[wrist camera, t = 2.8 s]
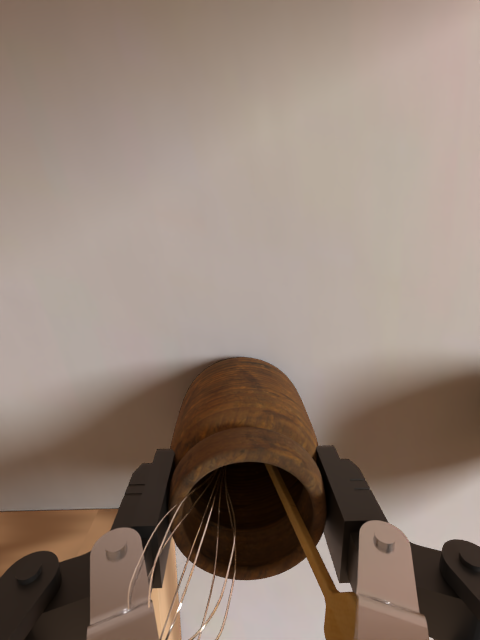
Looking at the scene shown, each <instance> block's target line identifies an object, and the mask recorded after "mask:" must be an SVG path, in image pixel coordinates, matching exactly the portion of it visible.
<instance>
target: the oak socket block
mask: <svg viewBox="0 0 480 640" xmlns="http://www.w3.org/2000/svg"><path fill="white" fill-rule="evenodd" d="M117 512H118V509H92V510H54V511H15V512H0V577H1V576H2V575H3V574H4V573H5V572H6V571H7V569H8V568H9V567H10V566H11V565H13V564H14V563H15V562H16V561H18V560H19V559H21V558H22V557H24V556H26V555H28V554H31V553H34V552H37V551H50V552H53V553H54V554H55V555H56V556H57V557H58V560H59V562H62V561H65V560H68V559H71V558H74V557H77V556H80V555H83V554H86V553H88V552H90V551H91V550H92V548H93V546H94V544H95V543H96V541H97V540H98V539H99V538H100V537H101V536H103V535H104V534H105V533H107V532H109V531H110V529H111V527H112V524H113V522H114V519H115V517H116V514H117ZM177 587H178V585H177V571H176V557H175V543H174V539H173V537H172V538H171V543H170V549H169V554H168V559H167V564H166V570H165V575H164V580H163V585H162V588H152V592H151V600H152V601H153V606H154V612H155V618H156V624H157V630H158V636H159V639H160V636H161V633H162V630H163V628H164V625H165V622H166V619H167V616H168V613H169V610H170V607H171V604H172V601H173V598H174V596H175V593H176V590H177ZM178 606H179V598H178V592H177V595H176V598H175V601H174V604H173V607H172V610H171V613H170V616H169V619H168V622H167V625H166V628H165V631H164V634H163V637H162V640H165V639H166V636H167V634H168V631H169V629H170V626H171V624H172V621H173V619H174V616H175V614H176V611H177V608H178ZM168 640H181V626H180V612H178V615H177V617H176V620H175V623H174V625H173V628H172V630H171V633H170V635H169V638H168Z"/></svg>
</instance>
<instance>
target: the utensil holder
mask: <svg viewBox="0 0 480 640" xmlns="http://www.w3.org/2000/svg"><path fill="white" fill-rule="evenodd" d="M317 446H318V442H317V439H316V436H315V433H314V430H313V427H312V424H311V422H310V419H309V417H308V414H307V412H306V410H305V407H304V405H303V402H302V400H301V398H300V396H299V394H298V392H297V390H296V388H295V387H294V385H293V384H292V382H291V381H290V380H289V378H288V377H287V376H286V375H285V374H284V373H283V372H282V371H280V370H279V369H278V368H276V367H275V366H273V365H271V364H269V363H267V362H265V361H262V360H259V359H254V358H247V357H237V358H230V359H226V360H223V361H220V362H217V363H215V364H213V365H211V366H210V367H208V368H207V369H205V370H204V371H203V372H202V373H201V374H200V375H199V376H198V377H197V378H196V379H195V380H194V381H193V383H192V384H191V386H190V387H189V389H188V391H187V393H186V395H185V398H184V400H183V403H182V406H181V409H180V412H179V416H178V419H177V423H176V426H175V430H174V434H173V438H172V443H171V448H170V449H173V451H174V453H175V471H174V473H173V476H172V479H171V482H170V487H169V497H168V513H167V514H166V515H165V516H164V517H163V518H162V520H161V521H160V522H159V524H158V525H157V526H156V528H155V530H154V531H153V533H152V535H151V536H150V538H149V540H148V542H147V544H146V546H145V548H144V551H143V553H142V555H141V557H140V559H139V562H138V564H137V566H136V568H135V570H134V573H133V575H132V578H131V581H130V584H129V588H128V594H127V610H128V609H130V607H129V596H130V588H131V584H132V581H133V578H134V576H135V573H136V571H137V568H138V566H139V564H140V562H141V559H142V557H143V555H144V553H145V551H146V548H147V546H148V544H149V542H150V540H151V538H152V536H153V535H154V533H155V531H156V530H157V528H158V526H159V525H160V524H161V522H162V521H163V520H164V519H165V517H166V516H167V515H168V522H169V527H168V529H167V531H166V534H165V536H164V539H163V541H162V543H161V546H160V548H159V551H158V553H157V556H156V559H155V561H154V564H153V566H152V568H151V570H150V572H149V575H148V579H149V577H150V575H151V577H150V584H149V592H148V608H150V596H151V586H152V579H153V573H154V569H155V565H156V562H157V560H158V558H159V556H160V554H161V552H162V550H163V549H164V547H165V545H166V544H167V542H168V541H169V539H170V538H171V536H172V537H173V539H174V541H175V543H176V545H177V547H178V548H179V550H180V551H181V552H182V553H183V555H184V556H185V557H186V558H187V562H186V564H185V567H184V570H183V573H182V576H181V578H180V581H179V584H178V587H177V590H176V593H175V596H174V598H173V601H172V604H171V607H170V610H169V613H168V616H167V619H166V622H165V625H164V628H163V630H162V633H161V636H160V639H159V640H162V637H163V634H164V631H165V628H166V625H167V622H168V619H169V616H170V613H171V610H172V607H173V604H174V601H175V598H176V595H177V592H178V589H179V586H180V583H181V581H182V578H183V575H184V572H185V569H186V566H187V564H188V561H189V560H190V561H191V562H192V563H193V567H192V569H191V572H190V575H189V578H188V581H187V584H186V587H185V589H184V592H183V595H182V598H181V600H180V603H179V606H178V608H177V611H176V614H175V616H174V619H173V621H172V624H171V626H170V629H169V631H168V634H167V636H166V639H165V640H168V638H169V635H170V633H171V630H172V628H173V625H174V623H175V620H176V617H177V615H178V612H179V610H180V607H181V604H182V601H183V599H184V596H185V593H186V590H187V588H188V585H189V582H190V579H191V576H192V573H193V570H194V567H195V565H196V566H197V567H199V568H201V569H203V570H204V571H206V572H209V573H211V574H213V580H212V585H211V590H210V595H209V599H208V603H207V607H206V611H205V615H204V618H203V622H202V626H201V628H200V629H199V630H198V631H197V632H196V634H195V635H193V636H192V637H191V638H190V639H189V640H193V639H194V638H195V637H196V636H197V635H198V634H199V636H198V640H200V637H201V633H202V630H203V629H204V627H205V626H206V625H207V623H208V622H209V621H210V619H211V618H212V616H213V615H214V613H215V611H216V609H217V607H218V605H219V603H220V601H221V599H222V596H223V593H224V589H225V586H226V582H227V578H228V579H233V581H232V586H231V591H230V596H229V600H228V605H227V609H226V613H225V617H224V621H223V624H222V627H221V630H220V632H219V634H218V636H217V638H216V639H215V640H218V639H219V637H220V635H221V633H222V631H223V628H224V625H225V621H226V618H227V614H228V609H229V605H230V600H231V596H232V591H233V586H234V580H256V579H263V578H267V577H271V576H275V575H277V574H280V573H283V572H285V571H287V570H289V569H291V568H292V567H294V566H296V565H297V564H298V563H300V562H301V561H302V560H304V559H305V558H306V557H307V559H308V561H309V564H310V566H311V568H312V570H313V573H314V575H315V577H316V579H317V581H318V584H319V586H320V588H321V590H322V593H323V595H324V597H325V602H326V612H325V623H324V633H325V638H326V640H353V638H354V629H355V616H356V593H354V592H341V593H340V592H339V591H338V590H337V589H336V587H335V585H334V583H333V581H332V579H331V577H330V575H329V573H328V571H327V569H326V567H325V565H324V563H323V561H322V559H321V557H320V554H319V552H318V550H317V548H316V545H317V544H318V542H319V540H320V538H321V536H322V534H323V531H324V528H325V524H326V519H327V504H326V494H325V487H324V482H323V479H322V475H321V473H320V471H319V468H318V466H317V452H316V447H317ZM169 529H170V532H171V535H170V536H169V538H168V539H167V541H166V542H165V544H164V541H165V539H166V536H167V534H168V532H169ZM163 544H164V545H163ZM162 546H163V547H162ZM215 575H216V576H220V577H223V578H225V582H224V585H223V589H222V592H221V595H220V598H219V600H218V602H217V604H216V606H215V608H214V610H213V612H212V613H211V615H210V616H209V618H208V619H207V621H206V622H205V618H206V614H207V610H208V606H209V602H210V598H211V594H212V589H213V584H214V578H215ZM204 622H205V623H204Z"/></svg>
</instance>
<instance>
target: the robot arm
mask: <svg viewBox="0 0 480 640" xmlns="http://www.w3.org/2000/svg"><path fill="white" fill-rule="evenodd" d="M316 452H317V466H318V468H319V471H320V473H321V475H322V479H323V482H324V487H325V494H326V504H327V519H326V524H325V528H324V531H323V532H324V535H325V538H326V541H327V545H328V548H329V551H330V554H331V558H332V561H333V564H334V568H335V571H336V574H337V577H338V581H339V583H350V584H351V587H352V590H353V592H354V593H356V616H355V629H354V638H353V640H429V637H431V638H433V639H434V640H480V547H479V546H477V545H475V544H473V543H471V542H468V541H464V540H456V539H454V540H449V541H447V542H446V543H445V544H444V545H443V548H442V551H438V550H434V549H430V548H426V547H422V546H419V545H416V544H413V543H411V542H409V540H408V539H407V537H406V536H405V534H404V533H403V532H402V531H401V530H399V529H398V528H397V527H395V526H394V525H392V524H390V523H388V521H387V519H386V517H385V516H384V514H383V512H382V510H381V508H380V506H379V504H378V503H377V501H376V499H375V497H374V495H373V493H372V491H371V490H370V488H369V486H368V484H367V482H366V481H365V478H364V476H363V475H362V473H361V471H360V469H359V468H358V467H357V466H356V465H355V464H354V463H353V462H351V461H350V460H349V459H340V458H339V456H338V454H337V452H336V449H335V447H334V446H333V445H331V446H317V447H316ZM174 471H175V453H174V451H173V449H157V451H156V454H155V457H154V460H153V463H147V464H142V465H141V466H140V467H139V468H138V469H137V470H136V471H135V472H134V473H133V474H132V477H131V479H130V482H129V486H128V487H127V489H126V492H125V496H124V497H123V499H122V502H121V504H120V507H119V509H118V512H117V514H116V517H115V519H114V522H113V524H112V527H111V529H110V531H109V532H107V533H105V534H104V535H103V536H101V537H100V538H99V539H98V540H97V541H96V543H95V544H94V546H93V548H92V550H91V551H90V552H88V553H86V554H83V555H80V556H77V557H74V558H71V559H68V560H65V561H62V562H59V560H58V557H57V556H56V555H55V554H54V553H53V552H50V551H37V552H34V553H31V554H28V555H26V556H24V557H22V558H21V559H19V560H18V561H16V562H15V563H14V564H13V565H11V566H10V567H9V568H8V569H7V571H6V572H5V573H4V574H3V575H2V576H1V577H0V640H159V636H158V630H157V624H156V618H155V612H154V606H153V601H152V600H151V596H150V608H148V592H149V584H150V577H151V575H150V577H149V579H148V575H149V572H150V570H151V568H152V566H153V564H154V561H155V559H156V556H157V553H158V551H159V548H160V546H161V543H162V541H163V539H164V536H165V534H166V531H167V529H168V527H169V522H168V515H167V516H166V517H165V519H164V520H163V521H162V522H161V524H160V525H159V526H158V528H157V530H156V531H155V533H154V535H153V536H152V538H151V540H150V542H149V544H148V546H147V548H146V551H145V553H144V555H143V557H142V559H141V562H140V564H139V566H138V568H137V571H136V573H135V576H134V578H133V581H132V584H131V588H130V596H129V607H130V609H128V610H127V594H128V588H129V584H130V581H131V578H132V575H133V573H134V570H135V568H136V566H137V564H138V562H139V559H140V557H141V555H142V553H143V551H144V548H145V546H146V544H147V542H148V540H149V538H150V536H151V535H152V533H153V531H154V530H155V528H156V526H157V525H158V524H159V522H160V521H161V520H162V518H163V517H164V516H165V515H166V514H167V513H168V497H169V487H170V482H171V479H172V476H173V473H174ZM170 535H171V532H170V529H169V532H168V534H167V536H166V539H165V541H164V544H165V542H166V541H167V539H168V538H169V536H170ZM171 538H172V536H171ZM171 538H170V539H169V541H168V542H167V544H166V545H165V547H164V549H163V550H162V552H161V554H160V556H159V558H158V560H157V562H156V565H155V569H154V573H153V579H152V586H151V592H152V588H162V585H163V580H164V575H165V570H166V564H167V559H168V554H169V549H170V543H171ZM164 544H163V545H164ZM162 547H163V546H162Z"/></svg>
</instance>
